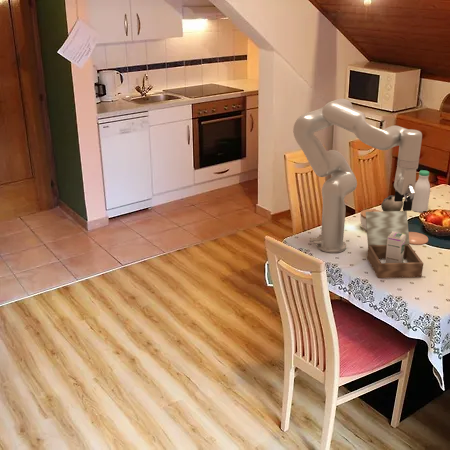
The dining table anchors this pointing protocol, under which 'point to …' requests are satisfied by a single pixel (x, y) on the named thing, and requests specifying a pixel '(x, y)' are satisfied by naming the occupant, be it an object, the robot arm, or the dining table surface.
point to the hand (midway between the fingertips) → (402, 205)
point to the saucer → (417, 238)
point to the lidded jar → (363, 216)
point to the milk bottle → (421, 192)
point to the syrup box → (395, 247)
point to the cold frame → (377, 245)
